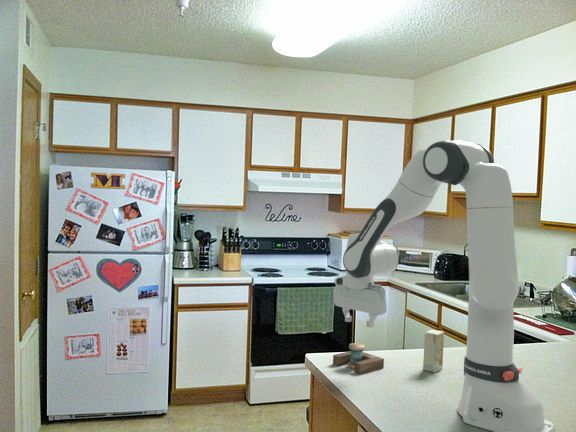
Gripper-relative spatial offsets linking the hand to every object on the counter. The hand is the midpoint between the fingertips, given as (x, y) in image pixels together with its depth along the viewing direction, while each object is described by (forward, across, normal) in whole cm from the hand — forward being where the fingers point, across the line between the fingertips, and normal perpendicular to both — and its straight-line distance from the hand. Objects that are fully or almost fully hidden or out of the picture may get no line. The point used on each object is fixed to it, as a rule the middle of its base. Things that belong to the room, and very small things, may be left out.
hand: (359, 324), depth 170 cm
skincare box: (+15, -15, -19) cm, 28 cm away
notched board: (+14, +1, -1) cm, 14 cm away
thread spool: (+14, 0, 0) cm, 14 cm away
